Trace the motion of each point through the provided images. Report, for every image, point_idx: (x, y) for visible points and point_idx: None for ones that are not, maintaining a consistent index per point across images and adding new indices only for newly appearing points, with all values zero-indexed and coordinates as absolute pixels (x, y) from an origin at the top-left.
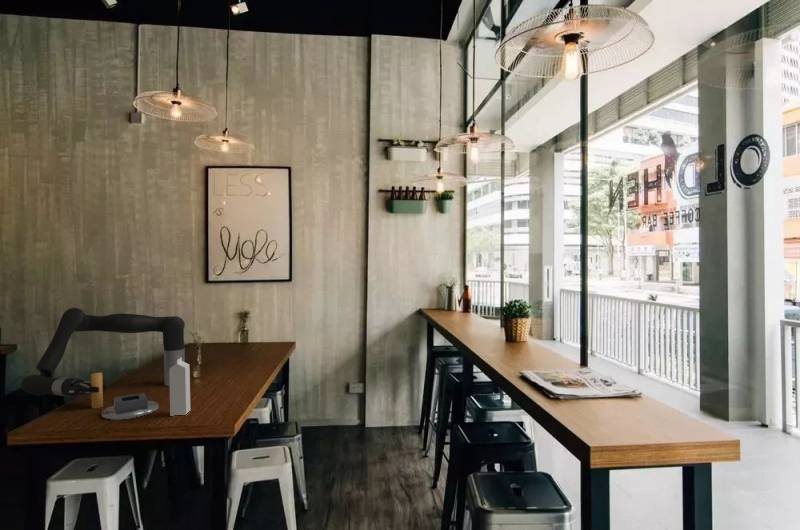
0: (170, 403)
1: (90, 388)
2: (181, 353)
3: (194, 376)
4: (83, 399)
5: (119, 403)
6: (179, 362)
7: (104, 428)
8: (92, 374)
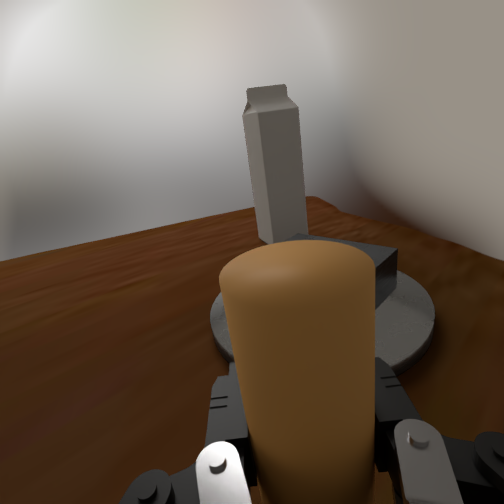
0: (305, 206)
1: (410, 402)
2: None
3: None
4: None
5: (383, 246)
6: (269, 98)
7: (475, 267)
8: (358, 268)
